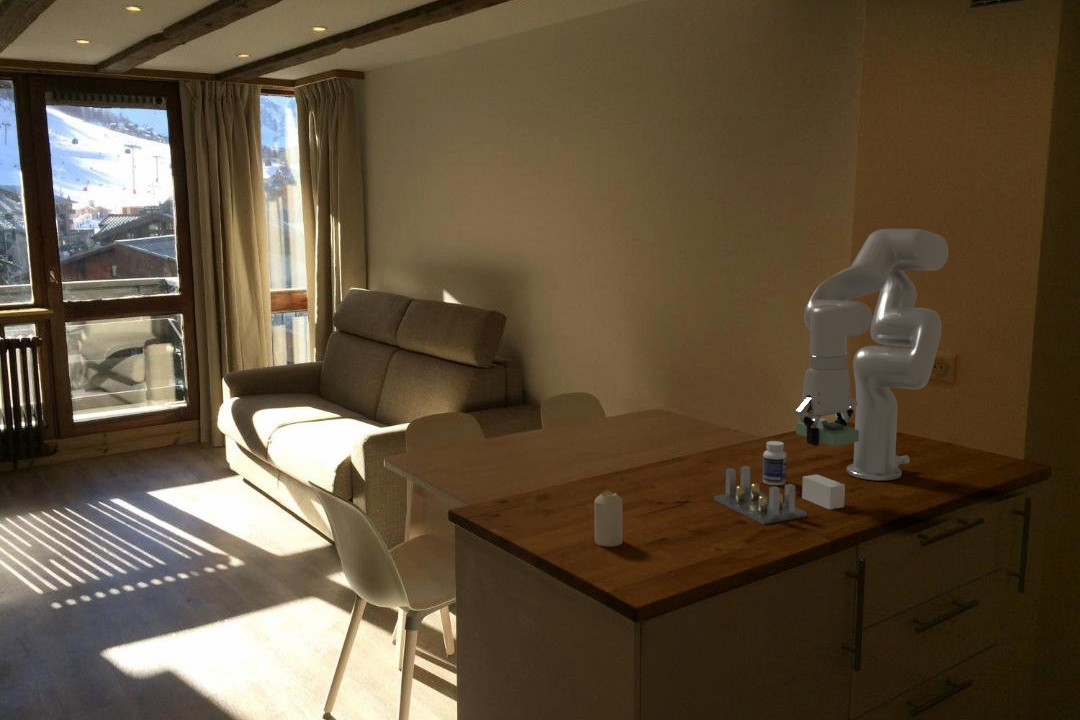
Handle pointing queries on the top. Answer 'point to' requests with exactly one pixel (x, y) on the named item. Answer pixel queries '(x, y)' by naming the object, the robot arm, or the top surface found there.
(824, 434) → the board
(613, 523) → the candle
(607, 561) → the top surface
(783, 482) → the pill bottle
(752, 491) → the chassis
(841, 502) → the block
